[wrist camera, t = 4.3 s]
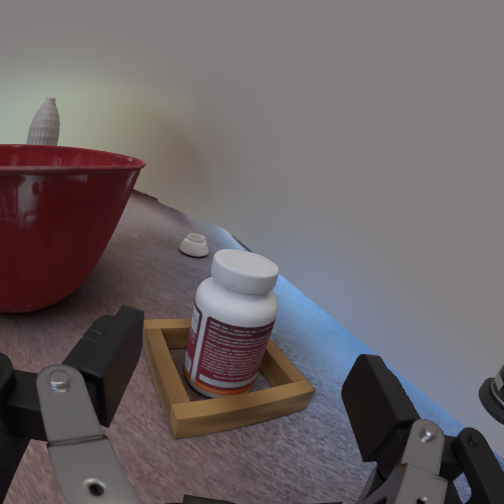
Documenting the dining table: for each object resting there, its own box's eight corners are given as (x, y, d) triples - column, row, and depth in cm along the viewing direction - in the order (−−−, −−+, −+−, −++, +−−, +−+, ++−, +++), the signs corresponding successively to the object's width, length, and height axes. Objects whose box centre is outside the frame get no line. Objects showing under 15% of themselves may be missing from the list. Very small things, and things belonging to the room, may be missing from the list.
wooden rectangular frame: (246, 334, 32) (251, 315, 31) (305, 409, 23) (316, 389, 22) (141, 340, 26) (142, 319, 25) (174, 439, 17) (176, 419, 16)
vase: (53, 171, 94) (66, 100, 86) (52, 176, 85) (66, 97, 76) (25, 170, 86) (37, 98, 78) (20, 175, 77) (33, 95, 68)
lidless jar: (179, 245, 53) (178, 255, 48) (182, 229, 52) (181, 238, 47) (206, 249, 54) (208, 260, 50) (210, 234, 53) (211, 243, 49)
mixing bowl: (-69, 252, 22) (-71, 145, 18) (78, 232, 46) (88, 143, 41) (-77, 392, 8) (-131, 183, 4) (177, 317, 31) (204, 174, 27)
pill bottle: (266, 382, 25) (306, 272, 22) (219, 414, 20) (255, 290, 17) (217, 347, 28) (242, 242, 25) (168, 368, 23) (185, 249, 20)
